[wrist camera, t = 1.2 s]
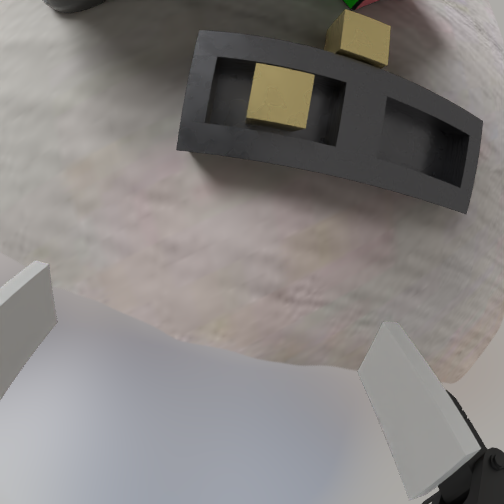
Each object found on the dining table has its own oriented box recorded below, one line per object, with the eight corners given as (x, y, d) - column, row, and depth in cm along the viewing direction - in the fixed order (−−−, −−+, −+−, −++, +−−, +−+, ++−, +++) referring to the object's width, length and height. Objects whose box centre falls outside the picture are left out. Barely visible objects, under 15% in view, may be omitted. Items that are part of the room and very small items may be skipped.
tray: (205, 47, 23) (199, 29, 19) (456, 120, 26) (482, 121, 21) (187, 149, 27) (176, 150, 22) (441, 204, 30) (466, 214, 25)
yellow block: (327, 30, 23) (345, 8, 17) (366, 43, 23) (390, 26, 18) (321, 65, 24) (340, 48, 19) (362, 77, 25) (387, 65, 19)
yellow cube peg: (253, 79, 24) (256, 62, 18) (299, 88, 24) (314, 74, 19) (245, 123, 25) (246, 117, 20) (292, 131, 26) (305, 128, 20)
